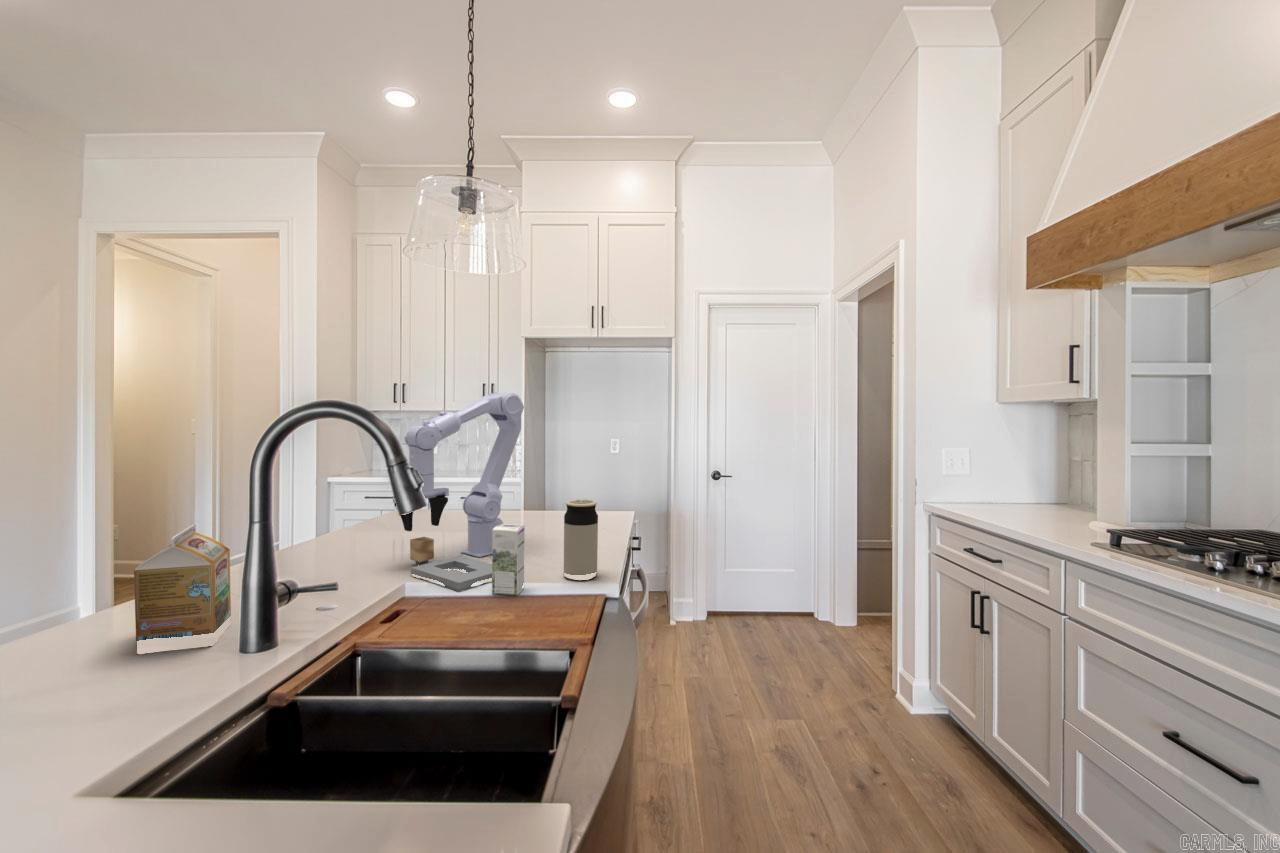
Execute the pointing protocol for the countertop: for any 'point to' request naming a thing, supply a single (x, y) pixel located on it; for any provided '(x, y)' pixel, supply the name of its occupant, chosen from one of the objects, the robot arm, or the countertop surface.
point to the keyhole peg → (421, 550)
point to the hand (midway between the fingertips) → (421, 527)
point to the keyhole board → (455, 572)
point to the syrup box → (508, 559)
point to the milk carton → (183, 588)
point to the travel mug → (580, 537)
